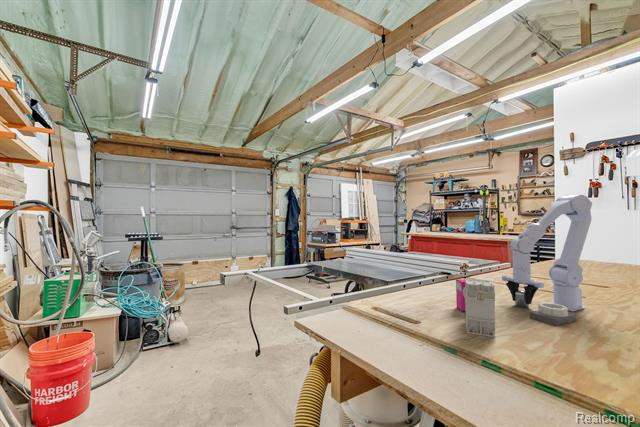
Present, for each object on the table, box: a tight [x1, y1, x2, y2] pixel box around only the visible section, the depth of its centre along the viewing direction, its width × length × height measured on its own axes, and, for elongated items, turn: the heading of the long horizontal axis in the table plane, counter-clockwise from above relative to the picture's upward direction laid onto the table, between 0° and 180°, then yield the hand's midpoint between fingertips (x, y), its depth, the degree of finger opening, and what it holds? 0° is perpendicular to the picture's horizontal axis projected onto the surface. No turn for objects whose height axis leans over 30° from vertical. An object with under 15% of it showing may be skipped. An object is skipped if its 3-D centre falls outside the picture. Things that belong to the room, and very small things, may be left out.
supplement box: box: [455, 278, 466, 313], centre depth 108 cm, size 6×6×12 cm
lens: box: [514, 289, 530, 309], centre depth 113 cm, size 4×4×6 cm
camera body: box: [529, 302, 577, 326], centre depth 99 cm, size 12×8×4 cm, turn 115°
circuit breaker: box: [464, 278, 496, 338], centre depth 92 cm, size 8×14×15 cm, turn 155°
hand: (521, 302), depth 113 cm, fingers closed on lens, 4 cm apart
